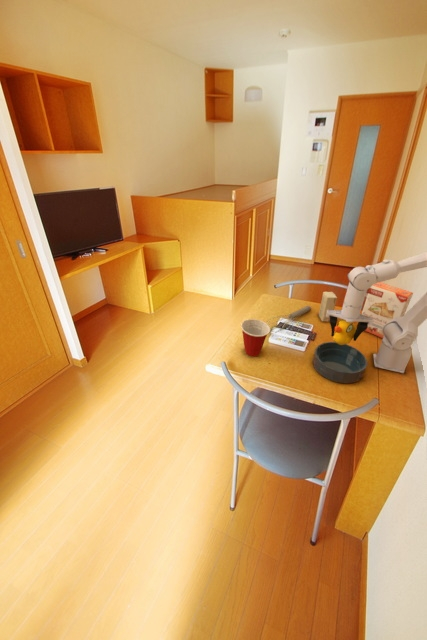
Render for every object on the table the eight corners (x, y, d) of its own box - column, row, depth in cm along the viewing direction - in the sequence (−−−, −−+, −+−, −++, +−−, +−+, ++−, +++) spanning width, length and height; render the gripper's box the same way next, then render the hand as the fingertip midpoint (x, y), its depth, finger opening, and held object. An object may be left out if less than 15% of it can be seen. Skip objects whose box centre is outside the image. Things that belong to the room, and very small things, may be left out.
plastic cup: (262, 364, 106) (266, 337, 99) (235, 356, 110) (236, 330, 103) (270, 348, 114) (274, 322, 108) (244, 341, 118) (246, 315, 112)
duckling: (336, 352, 99) (344, 327, 94) (323, 344, 103) (330, 320, 98) (357, 342, 104) (365, 318, 99) (344, 335, 108) (351, 311, 103)
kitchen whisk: (316, 311, 139) (318, 299, 136) (272, 339, 120) (274, 326, 116) (305, 306, 143) (307, 295, 139) (261, 333, 123) (262, 320, 120)
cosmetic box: (331, 322, 131) (337, 297, 124) (322, 321, 131) (327, 297, 124) (327, 314, 136) (333, 291, 130) (317, 314, 136) (323, 291, 130)
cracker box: (356, 328, 127) (370, 284, 116) (362, 323, 130) (376, 280, 119) (389, 342, 118) (408, 296, 107) (395, 336, 121) (414, 291, 110)
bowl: (362, 358, 109) (366, 348, 106) (364, 389, 95) (368, 378, 93) (314, 348, 114) (317, 337, 112) (310, 376, 101) (312, 365, 98)
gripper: (329, 305, 95) (321, 338, 102) (378, 313, 90) (366, 348, 97) (330, 295, 100) (322, 328, 107) (376, 303, 96) (365, 336, 103)
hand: (343, 337), depth 103 cm, fingers closed on duckling, 7 cm apart
